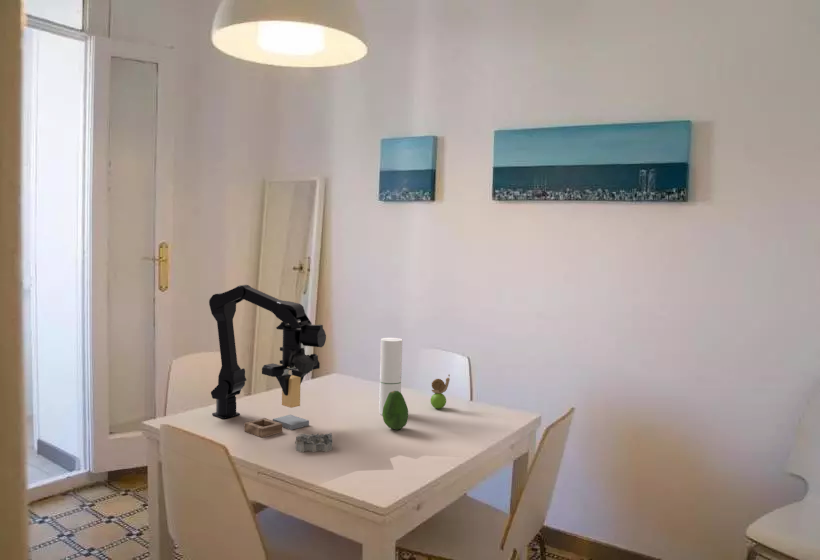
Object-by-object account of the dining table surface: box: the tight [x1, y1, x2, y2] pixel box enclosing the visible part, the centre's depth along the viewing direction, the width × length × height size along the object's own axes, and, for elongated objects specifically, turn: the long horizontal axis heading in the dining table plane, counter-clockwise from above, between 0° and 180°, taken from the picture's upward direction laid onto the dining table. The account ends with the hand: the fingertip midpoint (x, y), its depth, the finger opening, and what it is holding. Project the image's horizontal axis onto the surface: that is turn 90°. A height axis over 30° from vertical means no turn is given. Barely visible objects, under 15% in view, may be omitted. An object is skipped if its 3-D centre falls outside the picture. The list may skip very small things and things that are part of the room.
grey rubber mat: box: [272, 414, 310, 431], centre depth 208 cm, size 9×7×2 cm
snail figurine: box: [430, 374, 451, 410], centre depth 231 cm, size 5×6×12 cm
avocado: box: [381, 391, 409, 431], centre depth 206 cm, size 8×8×12 cm
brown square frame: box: [243, 417, 283, 438], centre depth 200 cm, size 8×8×2 cm
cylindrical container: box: [378, 337, 403, 416], centre depth 223 cm, size 7×7×25 cm
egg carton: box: [294, 432, 333, 453], centre depth 187 cm, size 10×7×4 cm
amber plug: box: [281, 374, 302, 409], centre depth 207 cm, size 4×4×9 cm
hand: (291, 394), depth 207 cm, fingers closed on amber plug, 3 cm apart
